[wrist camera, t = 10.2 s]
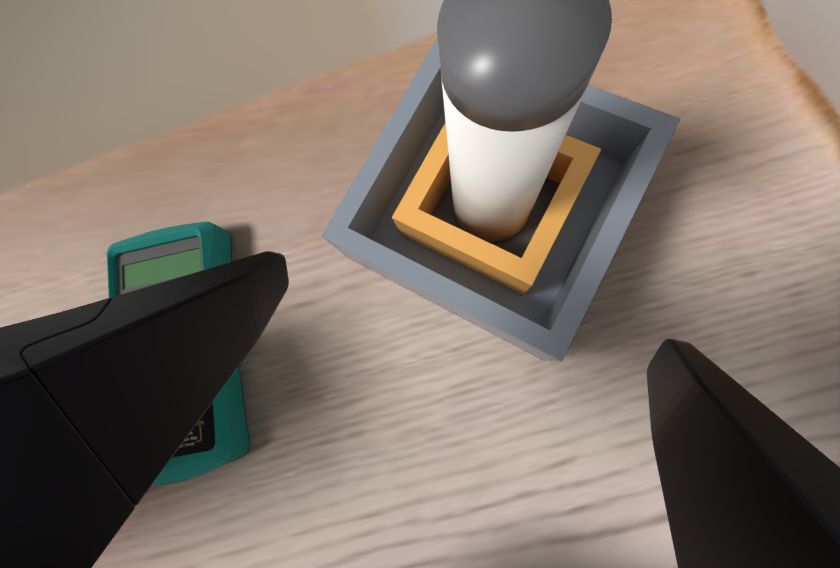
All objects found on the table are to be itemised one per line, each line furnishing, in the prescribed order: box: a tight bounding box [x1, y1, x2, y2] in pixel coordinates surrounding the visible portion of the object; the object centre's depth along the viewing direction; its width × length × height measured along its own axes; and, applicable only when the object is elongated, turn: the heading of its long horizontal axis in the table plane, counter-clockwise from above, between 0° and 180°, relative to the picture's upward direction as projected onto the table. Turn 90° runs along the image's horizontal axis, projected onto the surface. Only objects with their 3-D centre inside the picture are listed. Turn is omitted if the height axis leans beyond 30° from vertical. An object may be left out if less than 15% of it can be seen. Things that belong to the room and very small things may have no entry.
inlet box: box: [322, 38, 680, 361], centre depth 21 cm, size 13×13×4 cm
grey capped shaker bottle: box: [437, 0, 612, 242], centre depth 16 cm, size 4×4×12 cm
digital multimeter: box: [107, 222, 249, 485], centre depth 23 cm, size 7×15×3 cm, turn 11°
